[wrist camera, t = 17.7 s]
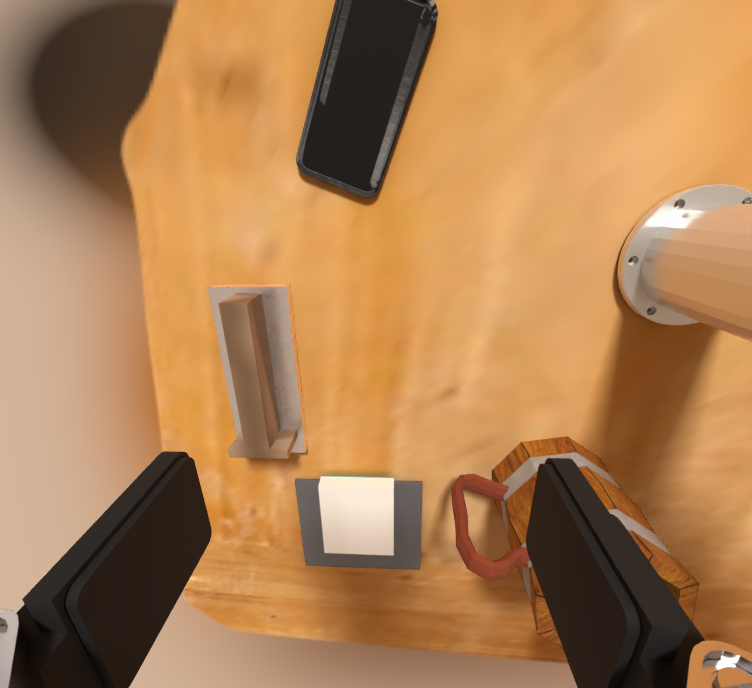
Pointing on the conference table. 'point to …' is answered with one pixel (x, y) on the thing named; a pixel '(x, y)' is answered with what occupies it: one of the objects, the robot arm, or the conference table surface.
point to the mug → (514, 505)
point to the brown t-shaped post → (253, 380)
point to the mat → (404, 554)
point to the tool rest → (280, 349)
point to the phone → (364, 90)
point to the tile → (357, 514)
